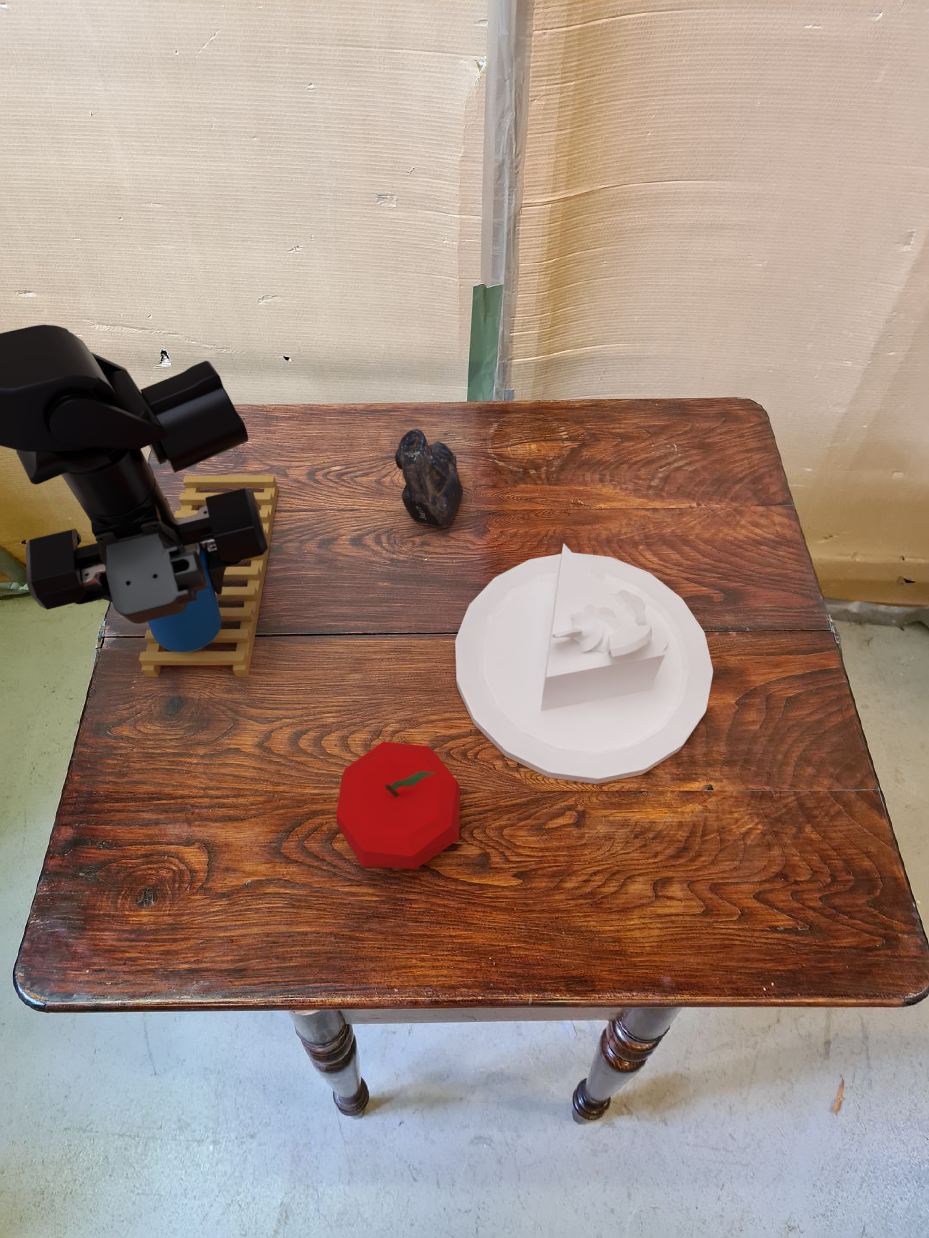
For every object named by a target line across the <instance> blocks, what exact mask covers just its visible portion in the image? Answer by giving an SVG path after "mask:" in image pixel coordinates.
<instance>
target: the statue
mask: <svg viewBox="0 0 929 1238" xmlns="http://www.w3.org/2000/svg"><path fill="white" fill-rule="evenodd" d="M394 461H395V465H396V468H398V469H399V470H401V472H402V475H403V479H404V482H405V485H404V488H403V490H402V493H401V500H402V503H403V505H404V507H405V510H406V512H407V513H408V514H409V516H410V518H411V520H413V521H414V523H417V524H418V525H424V526H430V527H432V528H438V529H446V528H448V527H449V526H450V525H451V523H452V521H453V520H454V517H455V515H456V512H457V511H458V509H459V506H460V504H461V501H462V499H463V495H464V486H463V484H462V482H461V479H460V476H459V475H460V474H459V471H458V467H457V465H458V461H457V456H456V454H454V452H452V451H451V449H450V448H449V446H447V444H445V443H443V442H441V441H439V440H437V441H435V442H434V443H433V444H429V443H428V440H427V437H426V435H425V433H424V432H423V431H422V430H420V429H418V428H413V429H410V430H408V431H407V432H406V433H405V434H404V435H403V436H402V437H401V439H400V441H399V443H398V448H397V450H396V451H395V453H394Z"/></svg>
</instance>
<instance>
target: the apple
mask: <svg viewBox="0 0 929 1238" xmlns="http://www.w3.org/2000/svg"><path fill="white" fill-rule="evenodd" d="M461 790H462V789H461V786H460V785H459V782H458V780H457V778H456V777H455V776H454V775H453V773H452V772H451V771H450V769H449V768H448V767H447V765H446V764H445V763H444V762H443V760H442V759H441V758H440V757H439V756H438V754H437V753H436V752H435V750H434V749H433V748H431V747H430V746H429V745H425V744H424V745H422V744H414V743H404V742H393V741H382V742H380V743H379V744H377V745H376V746H375V747H373V748H372V749H370V750H369V751H368V752H366V753H365V754H363V755H362V756H361V757H360V758H357V759H356V760H355V761H354V762H352V763H351V764H349V765H348V766H346V767H345V769H344V771H343V772H342V775H341V780H340V787H339V793H338V800H337V807H336V813H335V815H336V816H335V817H336V818H335V819H336V825H337V827H338V829H339V830H340V833H341V834H342V835H343V837H344V839H345V841H346V842H347V843H348V845H349V847H350V849H351V850H352V852H353V854H354V855H355V857H356V859H357V861H358V862H359V864H360V866H361V867H362V868H384V869H385V868H388V869H389V868H390V869H404V870H413V871H415V870H417V869H418V868H420V867H422V865H424V864H426V863H427V862H428V861H429V860H431V859H432V858H434V857H436V856H437V855H438V854H440V853H441V852H442V851H444V850H446V849H447V848H448V847H449V846H451V845H453V844H454V843H456V842H457V841H458V840H459V839H460V819H461V818H460V817H461V815H460V814H461V794H462V793H461V792H462V791H461Z"/></svg>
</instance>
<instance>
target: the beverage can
mask: <svg viewBox="0 0 929 1238" xmlns="http://www.w3.org/2000/svg"><path fill="white" fill-rule="evenodd" d="M184 547H185V550H186V552H191V551H196V552H197V553H198V555H199V556H200V559H201V562H202V566H203V570H204V574H205V578H206V582H207V588H206V589H204V590H200V591H198V592H197V599H198V600H196V601H193V602H189V603H188V604H187V607H186V609H185V610H184V611H183V612H181V613H179V614H175V615H169V616H165V617H161V618H157V619H153V620H150V621H147V624H148V627H149V630H151V632H152V635H153V637H154V639H155V640H156V641H157V642H158V643H159V644H160V645H161V646H162V647H164V648H165V650H168V651H170V652H196V651H199V650H200V649H202V648H204V647H206V646H208V645H209V644H210V642H211V641H212V640H213V639H214V638H215V637H216V636H217V634H218V632H219V630H220V629H221V626H222V621H221V615H220V611H219V608H220V607H219V603H218V600H217V598H216V593H215V590H214V588H213V585H212V580H211V576H210V572H209V571H208V565H207V560H206V555H205V549H204V546H203V544H202V542H199V543H195V544H191V545H187V546H184Z"/></svg>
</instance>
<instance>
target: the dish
mask: <svg viewBox="0 0 929 1238" xmlns="http://www.w3.org/2000/svg"><path fill="white" fill-rule="evenodd" d="M454 643H455V673H456V675H455V678H456V679H455V680H456V688H457V690H458V692H459V694H460V697H461V699H462V701H463V704H464V706H465V708H466V710H467V713H468V715H469V717H470V720H471V721H472V724H473V726H475V727H476V728H477V729H478V730H479V731H480V732H481V733H482V734H483V736H485V737H486V739H488V741H490V742H491V744H493V746H494V747H495V748H496V749H497V750H498V751H499V752H500V753H501V754H502V755H503V756H504V757H506V758H508V759H509V760H511V761H513V762H516V763H517V764H520V765H522V766H524V767H525V768H528V769H529V770H532V771H535V772H536V773H537V774H540V775H543V776H544V777H546V778H548V779H556V780H563V781H571V782H579V783H585V784H594V785H597V784H598V785H599V784H602V783H607V782H613V781H618V780H621V779H627V778H632V777H636V776H637V777H638V776H641V775H644V774H645V773H647V772H649V771H650V770H652V769H653V768H655V767H656V766H658V765H659V764H661V763H663V762H664V761H666V760H667V759H669V758H671V757H672V756H673V755H675V754H677V753H679V752H680V751H681V750H682V748H683V746H684V745H685V743H686V742H687V740H688V739H689V738H690V736H691V734H692V733H693V732H694V730H695V729H696V727H697V726H698V724H699V723H700V722H701V720H702V718H703V717H704V715H705V713H706V712H707V710H708V709H707V708H708V703H709V698H710V693H711V687H712V681H713V676H714V668H713V664H712V660H711V659H712V658H711V655H710V650H709V647H708V646H709V645H708V642H707V638H706V633H705V631H704V629H703V628H702V627H701V625H700V624H699V622H698V620H697V619H696V618H695V616H694V614H693V613H692V611H691V610H690V608H689V607H688V605H687V604H686V602H685V600H684V599H683V598H682V597H681V596H680V595H678V594H677V593H675V591H673V590H672V589H671V588H670V587H668V586H667V585H666V584H665V583H664V582H662V581H661V580H659V579H658V578H657V577H656V576H655V575H653V574H652V573H651V572H649V571H647V570H644V569H641V568H639V567H637V566H634V565H632V564H629V563H627V562H625V561H622V560H619V559H617V558H616V557H615V558H614V557H613V556H605V555H598V554H597V555H596V554H588V553H579V552H572V551H571V549H570V548H569V547H568V546H567V545H566V544H565V543H564V542H563V543H562V549H561V553H558V554H553V555H548V556H547V555H546V556H542V557H541V556H540V557H535V558H529V559H528V560H525V561H524V562H522V563H520V564H518V565H516V566H514V567H512V568H510V569H508V570H506V571H505V572H503V573H500V574H499V575H497V576H494V577H493V578H492V580H491V581H490V582H489V583H488V584H487V585H486V586H485V587H484V588H483V589H482V590H481V591H480V593H479V594H478V595H477V596H476V597H475V598H474V599H473V600H472V601H471V602H470V603H469V605H468V606H467V608H466V612H465V615H464V617H463V619H462V622H461V625H460V627H459V630H458V632H457V635H456V638H455V642H454Z"/></svg>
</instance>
